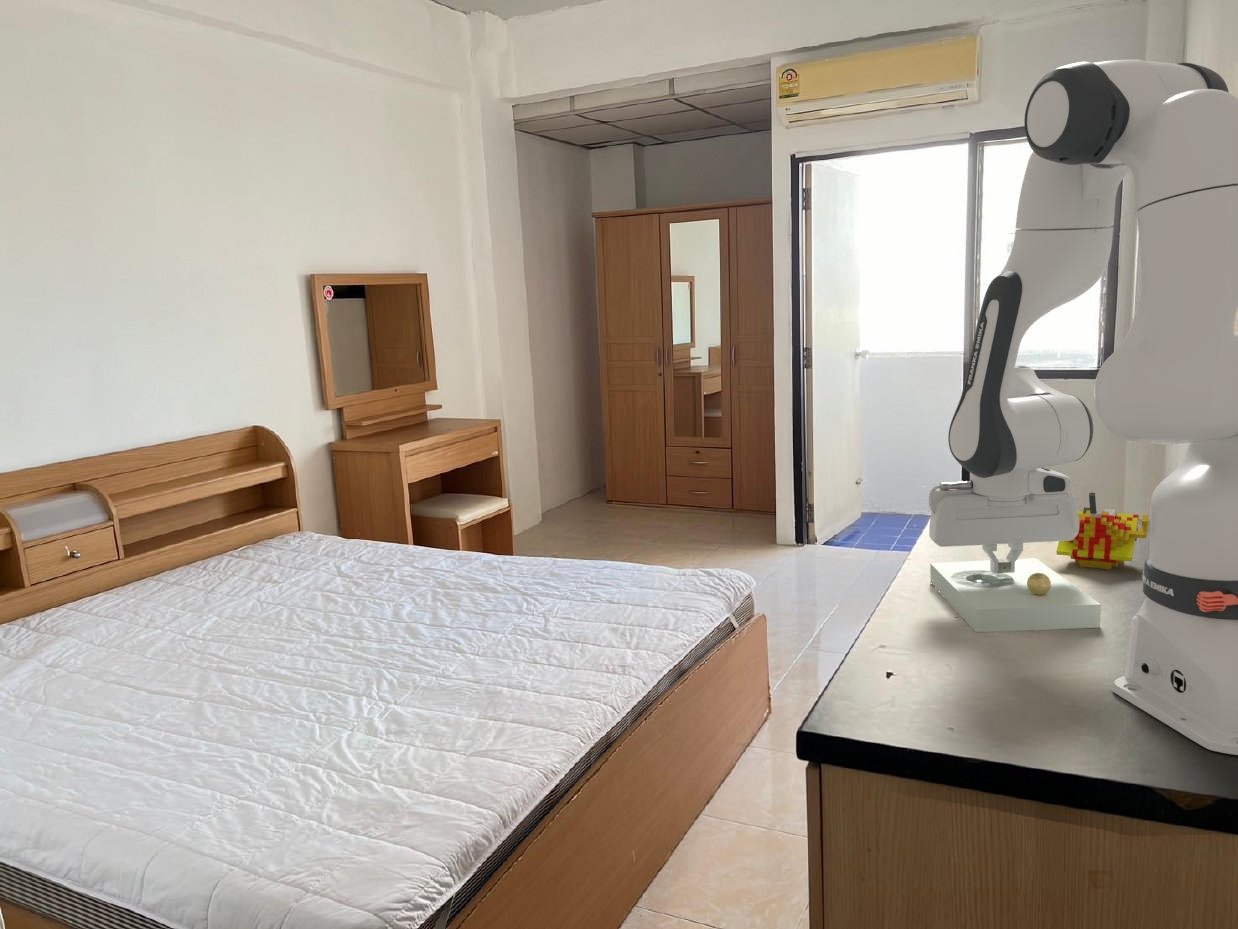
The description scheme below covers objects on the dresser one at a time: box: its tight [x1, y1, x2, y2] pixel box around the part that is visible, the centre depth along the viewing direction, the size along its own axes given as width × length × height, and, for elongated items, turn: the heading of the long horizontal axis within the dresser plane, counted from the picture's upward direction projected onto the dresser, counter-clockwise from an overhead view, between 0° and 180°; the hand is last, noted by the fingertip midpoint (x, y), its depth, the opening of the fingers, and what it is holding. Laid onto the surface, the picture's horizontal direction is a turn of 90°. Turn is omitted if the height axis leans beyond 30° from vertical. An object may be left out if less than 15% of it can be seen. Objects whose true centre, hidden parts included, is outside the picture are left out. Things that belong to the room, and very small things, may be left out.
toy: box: [1055, 492, 1150, 570], centre depth 144 cm, size 14×10×15 cm
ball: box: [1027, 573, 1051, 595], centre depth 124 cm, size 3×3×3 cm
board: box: [929, 557, 1102, 634], centre depth 131 cm, size 22×16×3 cm
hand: (1002, 572), depth 132 cm, fingers closed
